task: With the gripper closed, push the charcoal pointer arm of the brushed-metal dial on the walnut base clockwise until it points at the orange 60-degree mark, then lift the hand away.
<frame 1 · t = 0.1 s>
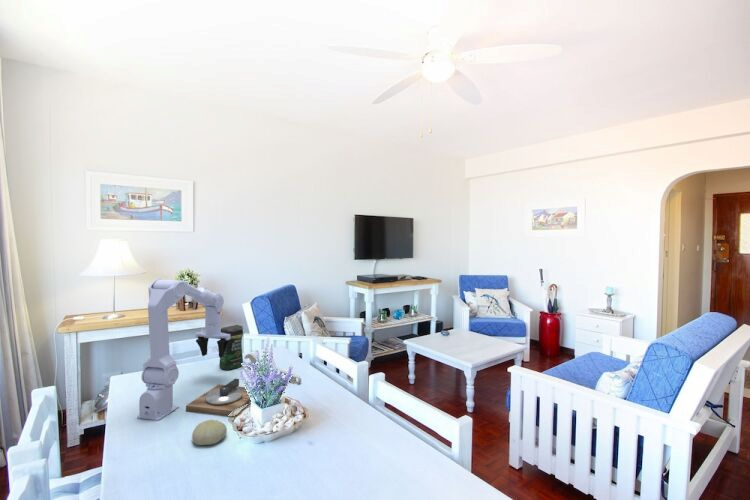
hand: (212, 356, 148), 10 cm above the table, tool pointing down, fingers open, 7 cm apart
dial: (225, 391, 129), point 4 cm above the table, hinge at 0.0°
coffee jar: (231, 367, 164), on the table
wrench: (271, 378, 153), on the table
dial base: (224, 403, 128), on the table
sea urchin shell: (209, 440, 106), on the table
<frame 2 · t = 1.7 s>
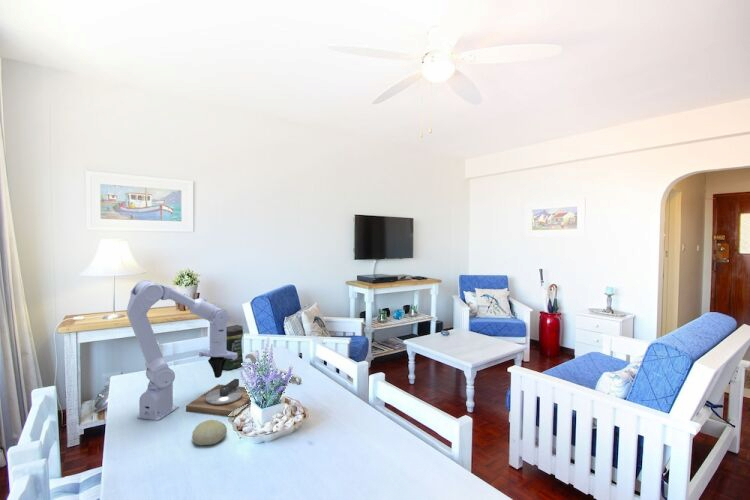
hand: (218, 376, 135), 7 cm above the table, tool pointing down, fingers closed
nothing on the table moved.
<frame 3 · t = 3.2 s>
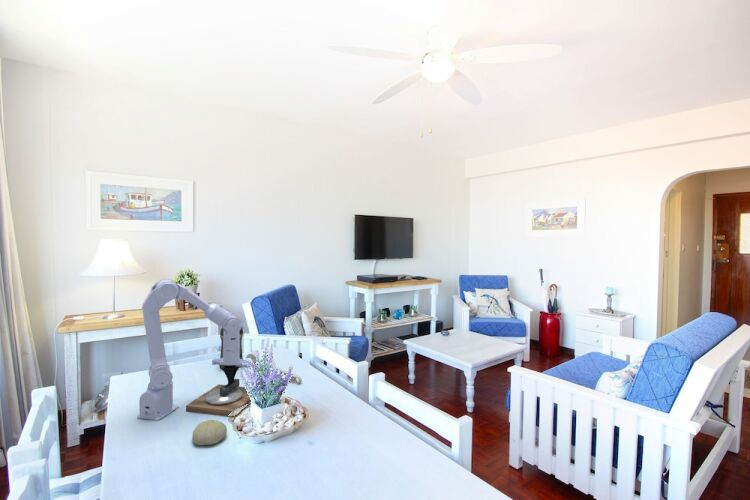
hand: (231, 385, 134), 4 cm above the table, tool pointing down, fingers closed, pressing on dial
dial: (226, 391, 129), point 4 cm above the table, hinge at -1.3°, touching gripper
everything else where it was.
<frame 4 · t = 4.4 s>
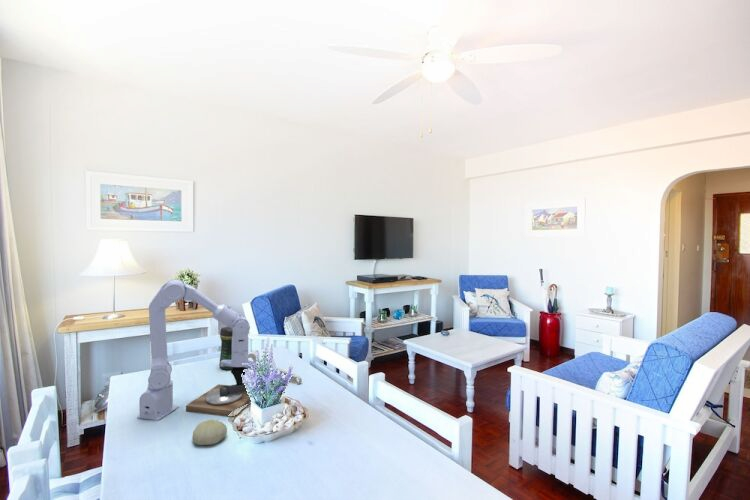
hand: (239, 386, 133), 4 cm above the table, tool pointing down, fingers closed, pressing on dial
dial: (227, 391, 128), point 4 cm above the table, hinge at -46.4°, touching gripper
everything else where it was.
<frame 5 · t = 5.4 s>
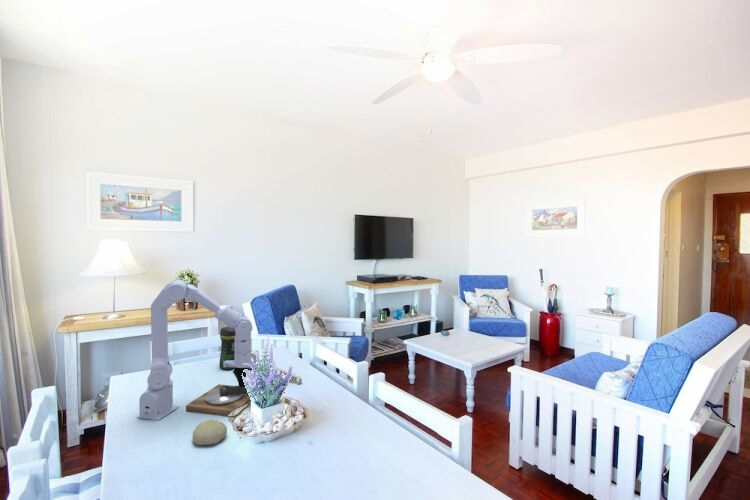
hand: (242, 387, 132), 4 cm above the table, tool pointing down, fingers closed
dial: (227, 392, 128), point 4 cm above the table, hinge at -65.6°
everything else where it was.
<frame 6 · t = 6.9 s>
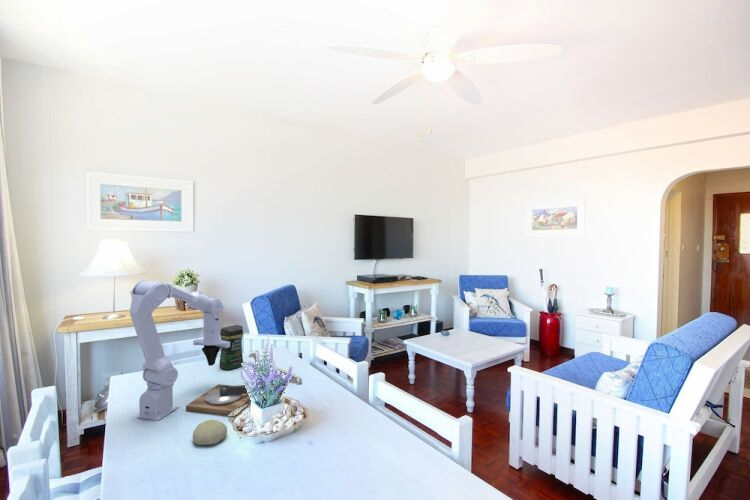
hand: (211, 364, 140), 9 cm above the table, tool pointing down, fingers closed
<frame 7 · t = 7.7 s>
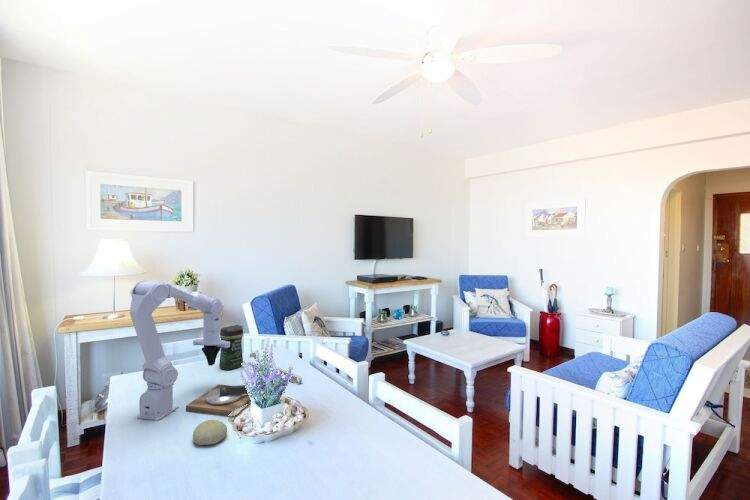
hand: (211, 364, 140), 9 cm above the table, tool pointing down, fingers closed
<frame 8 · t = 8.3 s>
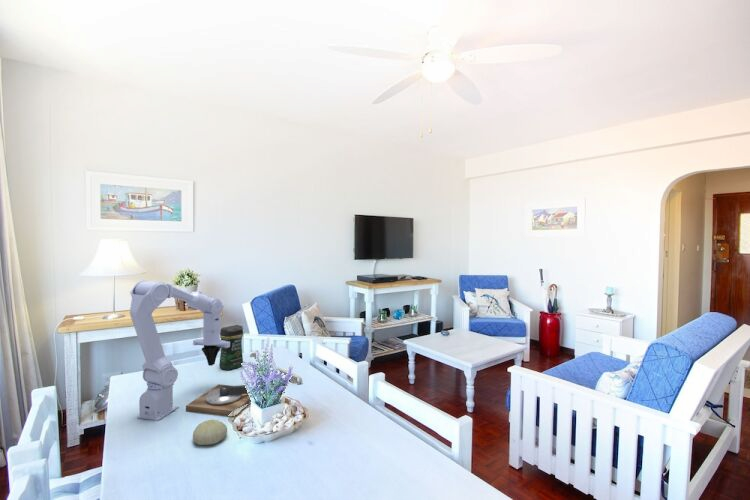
hand: (211, 364, 140), 9 cm above the table, tool pointing down, fingers closed
at the end: dial at -66° (first picture: +0°) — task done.
